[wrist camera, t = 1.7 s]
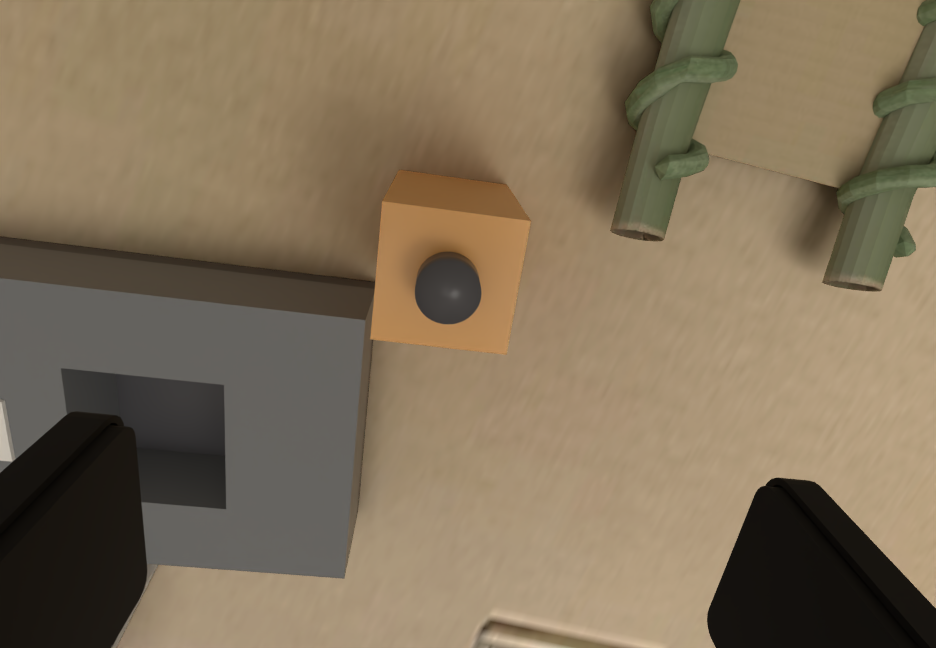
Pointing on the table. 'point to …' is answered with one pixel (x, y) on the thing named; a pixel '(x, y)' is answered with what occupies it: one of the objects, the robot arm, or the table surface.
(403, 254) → the plug
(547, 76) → the table surface
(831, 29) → the stretcher
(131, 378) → the desk socket
